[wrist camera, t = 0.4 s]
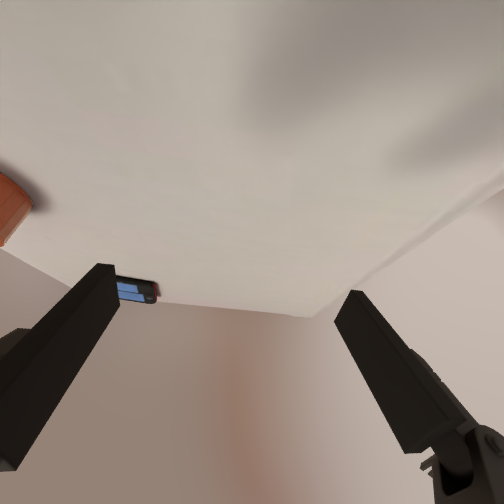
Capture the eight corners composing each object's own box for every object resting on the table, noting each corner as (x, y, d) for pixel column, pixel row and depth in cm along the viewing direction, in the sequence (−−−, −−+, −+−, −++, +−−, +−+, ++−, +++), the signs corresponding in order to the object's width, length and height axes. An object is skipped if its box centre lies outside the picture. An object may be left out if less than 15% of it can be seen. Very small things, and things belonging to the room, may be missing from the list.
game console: (156, 281, 50) (153, 291, 49) (158, 297, 61) (156, 305, 59) (87, 270, 47) (82, 279, 45) (102, 288, 57) (99, 296, 56)
